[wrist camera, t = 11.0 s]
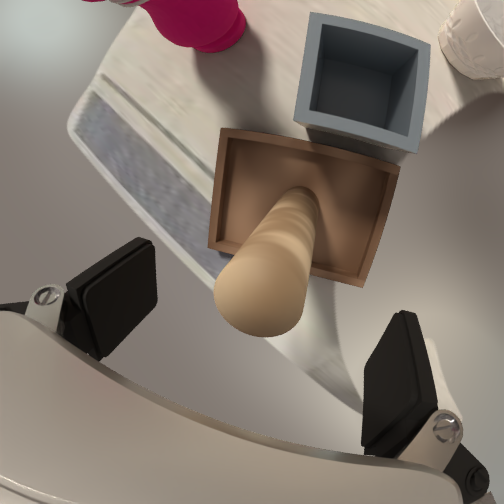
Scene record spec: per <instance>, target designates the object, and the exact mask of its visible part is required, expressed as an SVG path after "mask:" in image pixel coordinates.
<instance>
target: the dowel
mask: <svg viewBox="0 0 504 504" xmlns="http://www.w3.org/2000/svg"><path fill="white" fill-rule="evenodd" d="M318 212H319V201H318V198H317V196H316V194H315V193H314V192H313V191H312V190H310V189H309V188H307V187H304V186H295V187H292V188H290V189H288V190H287V191H286V192H285V193H284V194H283V195H282V197H281V198H280V199H279V200H278V202H277V203H276V204H275V205H274V206H273V208H272V209H271V210H270V211H269V213H268V214H267V215H266V216H265V218H264V219H263V220H262V221H261V223H260V224H259V225H258V226H257V228H256V229H255V230H254V231H253V233H252V234H251V235H250V236H249V238H248V239H247V240H246V241H245V243H244V244H243V245H242V246H241V248H240V249H239V250H238V251H237V253H236V254H235V255H234V256H233V258H232V259H231V260H230V262H229V263H228V264H227V265H226V267H225V268H224V269H223V270H222V272H221V273H220V274H219V276H218V277H217V279H216V282H215V285H214V299H215V303H216V306H217V308H218V310H219V312H220V313H221V315H222V316H223V318H224V319H225V320H226V321H227V322H228V323H229V324H230V325H232V326H233V327H234V328H236V329H238V330H239V331H241V332H243V333H246V334H249V335H252V336H257V337H274V336H278V335H282V334H284V333H286V332H288V331H289V330H291V329H292V328H293V327H294V326H295V325H296V324H297V323H298V321H299V320H300V318H301V316H302V313H303V308H304V303H305V297H306V292H307V286H308V280H309V274H310V268H311V262H312V255H313V249H314V242H315V235H316V228H317V220H318Z"/></svg>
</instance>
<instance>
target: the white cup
mask: <svg viewBox="0 0 504 504" xmlns="http://www.w3.org/2000/svg"><path fill="white" fill-rule="evenodd" d="M438 38H439V42H440V46H441V50H442V51H443V53H444V54H445V56H446V58H447V59H448V61H449V63H450V64H452V65H453V66H454V67H455V68H456V69H457V70H458V71H459V72H460V73H461V74H463V75H465V76H467V77H469V78H471V79H481V80H483V79H488V78H500V77H504V0H460V1H459V3H458V4H457V5H456V6H455V8H454V9H453V10H452V12H451V13H450V14H449V16H448V18H447V20H446V21H445V22H444V23H443V24H442V25H441V26H440V30H439V34H438Z"/></svg>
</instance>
